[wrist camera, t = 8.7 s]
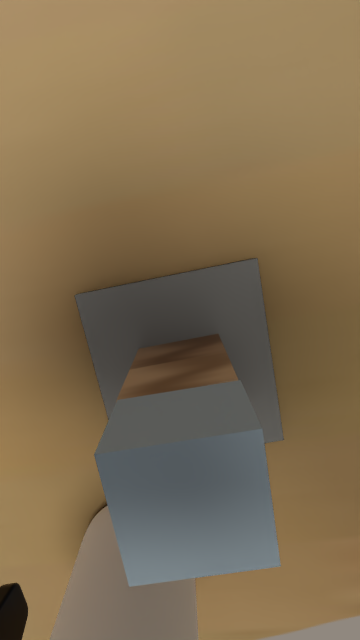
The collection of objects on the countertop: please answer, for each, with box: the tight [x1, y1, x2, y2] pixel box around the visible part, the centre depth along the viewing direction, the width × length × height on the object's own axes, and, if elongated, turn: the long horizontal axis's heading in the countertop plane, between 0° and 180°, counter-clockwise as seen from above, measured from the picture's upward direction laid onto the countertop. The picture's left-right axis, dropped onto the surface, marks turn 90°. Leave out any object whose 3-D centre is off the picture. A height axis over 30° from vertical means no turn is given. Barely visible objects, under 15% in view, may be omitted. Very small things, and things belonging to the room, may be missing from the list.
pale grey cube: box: [94, 380, 281, 587], centre depth 12 cm, size 5×5×4 cm
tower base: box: [130, 334, 226, 369], centre depth 18 cm, size 5×5×4 cm
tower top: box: [116, 352, 238, 402], centre depth 15 cm, size 5×5×4 cm
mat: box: [75, 258, 284, 443], centre depth 20 cm, size 11×12×1 cm
